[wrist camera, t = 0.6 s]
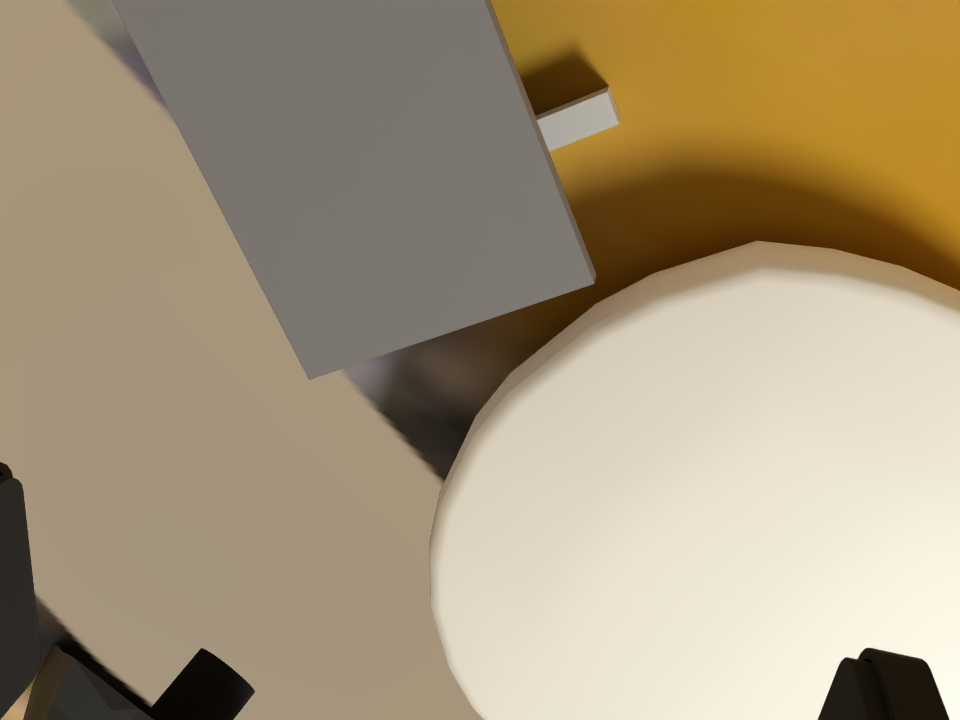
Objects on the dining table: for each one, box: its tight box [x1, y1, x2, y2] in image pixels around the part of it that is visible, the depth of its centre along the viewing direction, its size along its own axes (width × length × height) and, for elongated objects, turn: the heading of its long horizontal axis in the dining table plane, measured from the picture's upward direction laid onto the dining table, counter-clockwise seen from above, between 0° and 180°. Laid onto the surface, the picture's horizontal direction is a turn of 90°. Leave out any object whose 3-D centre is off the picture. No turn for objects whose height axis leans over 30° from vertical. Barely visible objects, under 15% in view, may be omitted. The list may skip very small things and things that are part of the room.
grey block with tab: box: [112, 0, 620, 380], centre depth 31 cm, size 13×19×6 cm
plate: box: [429, 241, 960, 720], centre depth 38 cm, size 28×6×27 cm
